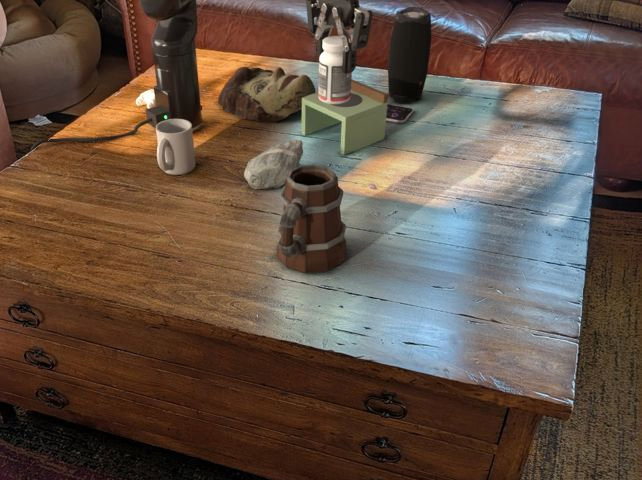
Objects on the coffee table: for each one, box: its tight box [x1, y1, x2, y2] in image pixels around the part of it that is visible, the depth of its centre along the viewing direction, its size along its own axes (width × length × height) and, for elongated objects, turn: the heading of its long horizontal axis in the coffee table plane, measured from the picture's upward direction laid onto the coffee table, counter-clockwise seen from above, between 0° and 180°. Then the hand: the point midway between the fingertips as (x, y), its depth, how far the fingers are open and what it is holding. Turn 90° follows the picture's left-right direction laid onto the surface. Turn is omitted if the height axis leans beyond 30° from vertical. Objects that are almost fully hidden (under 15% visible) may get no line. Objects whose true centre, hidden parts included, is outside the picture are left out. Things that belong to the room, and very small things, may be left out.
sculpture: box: [217, 66, 317, 123], centre depth 172 cm, size 21×10×25 cm
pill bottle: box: [317, 35, 353, 104], centre depth 125 cm, size 6×6×10 cm
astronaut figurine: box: [135, 88, 156, 109], centre depth 177 cm, size 9×12×3 cm
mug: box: [276, 163, 347, 274], centre depth 119 cm, size 16×12×15 cm
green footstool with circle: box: [301, 78, 389, 156], centre depth 157 cm, size 12×14×10 cm
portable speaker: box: [387, 6, 433, 104], centre depth 170 cm, size 9×9×20 cm
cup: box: [155, 119, 196, 176], centre depth 148 cm, size 7×10×9 cm
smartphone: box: [386, 103, 414, 124], centre depth 170 cm, size 8×1×15 cm
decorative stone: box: [243, 139, 304, 190], centre depth 145 cm, size 13×10×6 cm
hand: (335, 66), depth 124 cm, fingers closed on pill bottle, 5 cm apart
